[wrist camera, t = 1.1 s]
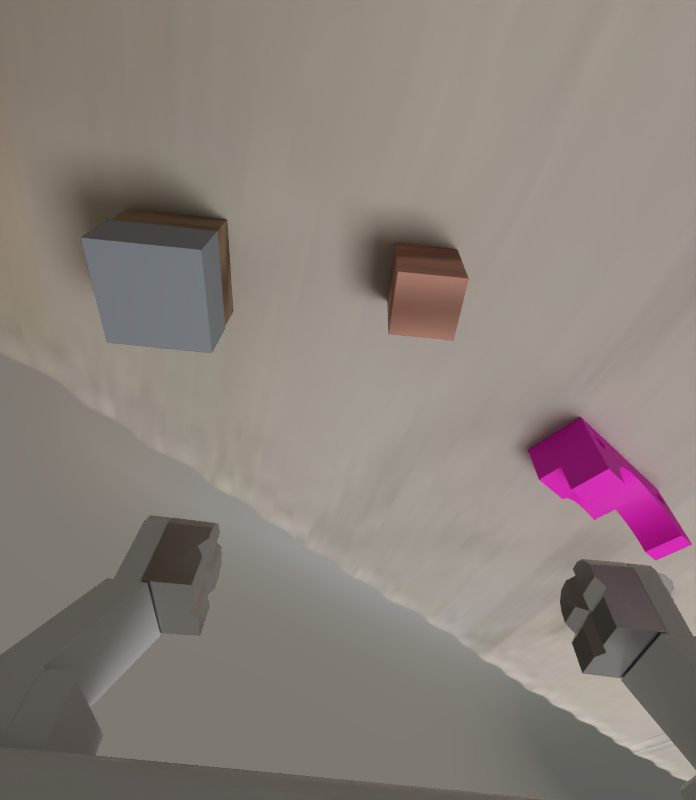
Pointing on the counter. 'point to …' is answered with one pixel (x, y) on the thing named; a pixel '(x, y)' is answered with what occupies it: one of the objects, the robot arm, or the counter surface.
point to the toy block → (607, 486)
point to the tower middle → (157, 284)
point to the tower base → (193, 223)
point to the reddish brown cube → (426, 292)
